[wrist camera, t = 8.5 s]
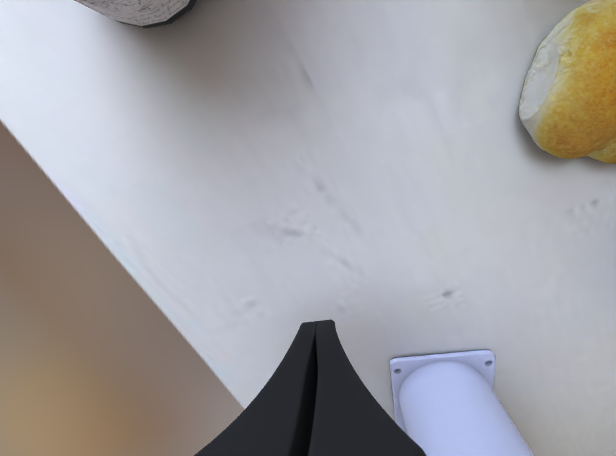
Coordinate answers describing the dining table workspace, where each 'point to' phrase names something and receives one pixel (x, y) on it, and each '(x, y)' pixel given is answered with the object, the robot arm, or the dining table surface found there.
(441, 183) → the dining table surface
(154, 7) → the wine bottle
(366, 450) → the robot arm
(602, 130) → the bread roll
